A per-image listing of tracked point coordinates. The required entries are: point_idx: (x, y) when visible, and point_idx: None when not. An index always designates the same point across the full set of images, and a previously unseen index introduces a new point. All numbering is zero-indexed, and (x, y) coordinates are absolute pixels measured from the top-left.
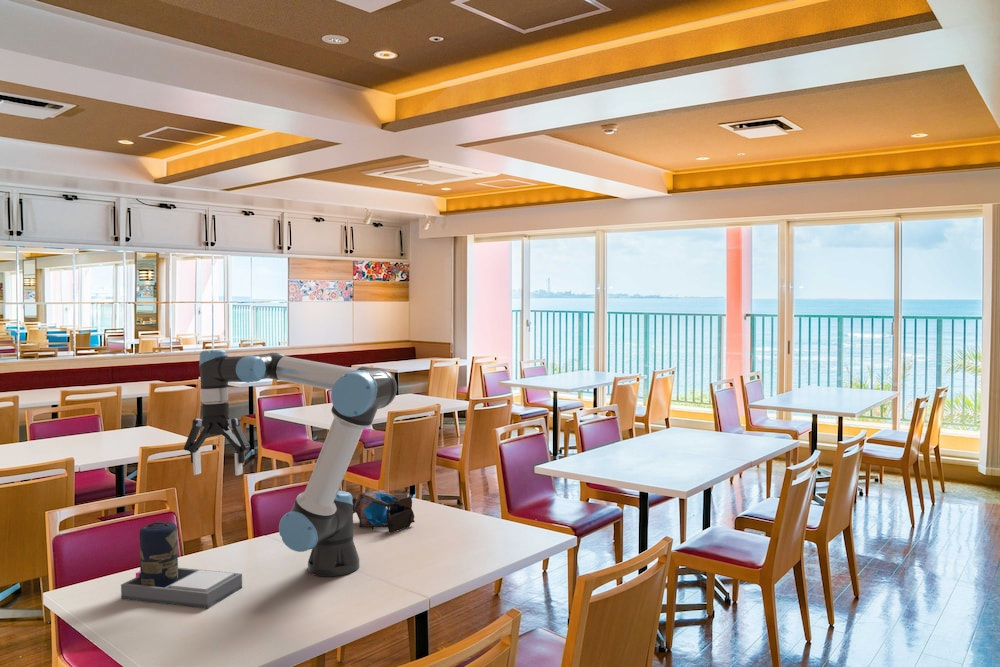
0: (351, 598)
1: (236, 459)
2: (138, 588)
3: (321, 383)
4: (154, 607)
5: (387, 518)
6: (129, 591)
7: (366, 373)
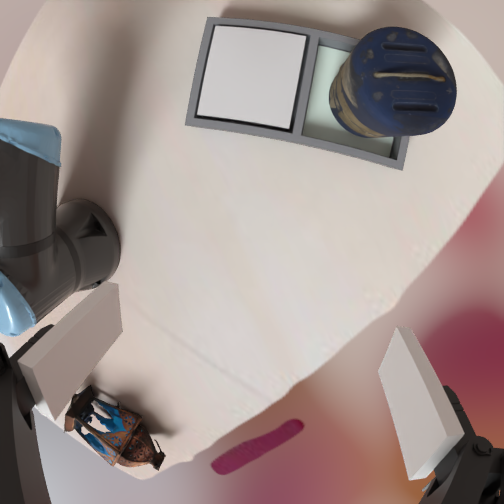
0: None
1: (51, 335)
2: None
3: None
4: (323, 26)
5: (75, 394)
6: None
7: None
